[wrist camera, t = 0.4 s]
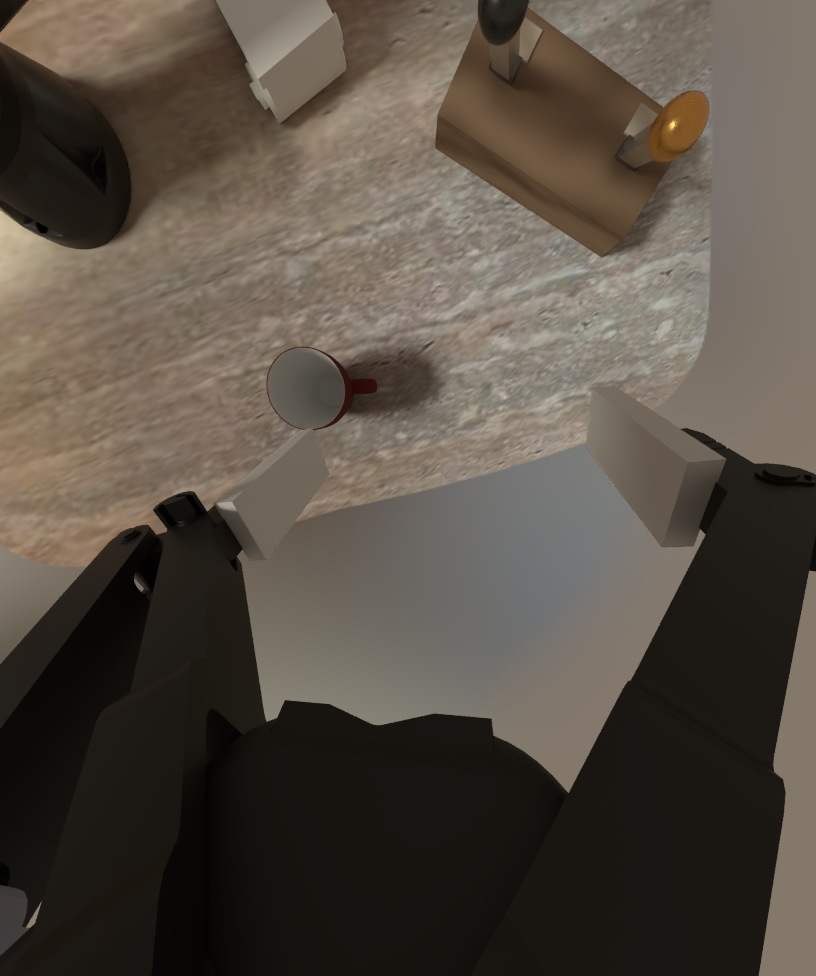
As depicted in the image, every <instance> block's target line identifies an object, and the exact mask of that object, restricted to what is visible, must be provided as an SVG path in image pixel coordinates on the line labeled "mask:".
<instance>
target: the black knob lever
mask: <svg viewBox="0 0 816 976" xmlns="http://www.w3.org/2000/svg"><path fill="white" fill-rule="evenodd" d="M528 4H529V0H478V21H479V26H480V29H481V32H482V35H483V36H484V38H485V39H486V41H487V42H489V48H490V56H491V61H490V65H489V71H491V72H492V73H494V74H495V75H496V76H498V77H499V78H501V79H502V80H504V81H505V82H506V83H508V84H509V85H511V86H512V84H513V82H514V80H515V78H516V76H517V73H518V71H519V68H520V65H521V63H522V59H523V58H522V57H521V56H519V49H520V29H521V25H522V23H523V20H524V18H525V15H526V12H527V8H528Z"/></svg>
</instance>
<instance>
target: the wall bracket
mask: <svg viewBox="0 0 816 976" xmlns="http://www.w3.org/2000/svg"><path fill="white" fill-rule="evenodd" d="M215 1H216V3H217V5H218V6H219V8H220V10H221V12H222V14H223V16H224V18H225V20H226V21H227V23H228V25H229V27H230V29H231V31H232V33H233V35H234V36H235V38H236V40H237V42H238V44H239V46H240V48H241V49H242V51H243V53H244V55H245V57H246V59H247V61H248V62H247V63H245V66H246V68H247V71H248V73H249V75H250V77H251V79H252V81H253V82H252V83H250V84H249V85H250V87H251V89H252V91H253V93H254V95H255V97H256V99H257V101H258V100H259V101H260V103H261V104H262V106H263V107H264V109H265V110H266V109H268V108H269V107H270V109H271V110H272V112H273V114H274V115H275V117H276V119H277V121H278V123H279V124H280V123H281V122H283V121H284V120H285V119H286V118H288V117H289V116H290V115H291V114H293V113H294V112H295V111H296V110H298V109H299V108H300V107H301V106H302V105H304V104H305V103H306V102H307V101H309V100H310V99H311V98H312V97H314V96H315V95H316V94H317V93H319V92H320V91H321V90H322V89H324V88H325V87H326V86H327V85H329V84H330V83H331V82H332V81H333V80H335V79H336V78H337V77H338V76H340V75H341V74H342V73H343V72H345V71H346V61H345V56H344V51H343V46H344V40H343V34H342V30H341V26H340V23H339V20H338V17H337V14H336V12H334V13H332V11H331V9H330V7H329V5H328V3H327V1H326V0H215Z"/></svg>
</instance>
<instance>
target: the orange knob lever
mask: <svg viewBox="0 0 816 976" xmlns="http://www.w3.org/2000/svg"><path fill="white" fill-rule="evenodd" d="M708 115H709V103H708V100H707V97H706V96H705V95H704V94H703V93H702V92H699V91H687V92H684V93H682V94H680V95H678V96H676V97H675V98H674V99H672V100H671V101H670V102H669V103H668V104H667V105H666V106H665V107H664V108H663V109H662V110H661V111H660V113H659V114H658V115H657V117H656V119H655V120H654V122H653V123H651V124H650V125H649V126H647V127H646V128H644V129H643V130H642V131H640V132H639V133H637V134H636V135H634V136H631V135H630V134H629V135H628V137H627V138H626V139H625V141H624V142H623V143H622V145H621V146H620V148H619V150H618V151H617V153H616V155H615V157H614V158H615V159H616V160H618V161H619V162H621V163H622V164H624V165H625V166H626V167H628V168H629V169H631V170H632V171H634V172H636V171H637V170H638V169H639V167H640V166H641V165H644V164H646V163H648V162H650V161H653V160H655V161H657V162H661V163H663V162H669V161H672V160H675V159H677V158H678V157H680V156H682V155H683V154H684V153H686V152H687V151H688V150H689V149H690V148H691V147H692V146H693V145H694V143H695V142H696V141H697V140H698V138H699V137H700V135H701V133H702V132H703V130H704V128H705V125H706V123H707V119H708Z"/></svg>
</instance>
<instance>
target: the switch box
mask: <svg viewBox="0 0 816 976" xmlns="http://www.w3.org/2000/svg"><path fill="white" fill-rule="evenodd" d="M519 56H521V57H522V58H523V59H522V63H521V65H520V68H519V71H518V73H517V76H516V78H515V80H514V82H513V84H512V86H511V85H509V84H508V83H506V82H505V81H504V80H502V79H501V78H499V77H498V76H496V75H495V74H494V73H492V72H491V71H489V65H490V61H491V56H490V48H489V42H487V41H486V39H485V38H484V36H483V35H482V32H481V29H480V26H479V21H478V22H477V24H476V26H475V29H474V31H473V33H472V36H471V38H470V40H469V43H468V45H467V47H466V50H465V52H464V54H463V57H462V59H461V61H460V64H459V66H458V68H457V71H456V73H455V75H454V78H453V80H452V82H451V85H450V87H449V89H448V92H447V94H446V96H445V99H444V101H443V103H442V106H441V108H440V110H439V113H438V117H437V131H436V145H435V148H436V149H438V150H439V151H441V152H442V153H444V154H445V155H447V156H448V157H450V158H451V159H453V160H454V161H456V162H457V163H459V164H460V165H462V166H463V167H465V168H467V169H468V170H470V171H471V172H473V173H474V174H476V175H477V176H479V177H480V178H482V179H483V180H485V181H486V182H488V183H489V184H491V185H492V186H494V187H495V188H497V189H499V190H500V191H502V192H503V193H505V194H506V195H508V196H509V197H511V198H512V199H514V200H515V201H517V202H518V203H520V204H521V205H523V206H524V207H526V208H527V209H529V210H531V211H532V212H534V213H535V214H537V215H538V216H540V217H541V218H543V219H544V220H546V221H547V222H549V223H550V224H552V225H553V226H555V227H556V228H558V229H559V230H561V231H563V232H564V233H566V234H567V235H569V236H570V237H572V238H573V239H575V240H576V241H578V242H579V243H581V244H582V245H584V246H585V247H587V248H588V249H590V250H591V251H593V252H595V253H596V254H598V255H599V256H601V257H602V256H603V255H605V254H606V253H607V252H609V251H610V250H611V249H612V248H614V247H615V246H616V245H617V244H619V243H620V242H621V241H623V240H624V239H625V237H626V235H627V234H628V232H629V230H630V229H631V227H632V226H633V224H634V222H635V221H636V219H637V217H638V216H639V214H640V213H641V211H642V209H643V208H644V206H645V204H646V203H647V201H648V200H649V198H650V196H651V195H652V193H653V191H654V190H655V188H656V187H657V185H658V183H659V182H660V180H661V178H662V177H663V175H664V174H665V172H666V170H667V169H668V167H669V165H670V164H671V162H672V161H673V160H672V161H669V162H663V163H661V162H657V161H655V160H653V161H650V162H648V163H646V164H644V165H641V166H640V167H639V169H638V170H637V171H636V172H634V171H632V170H631V169H629V168H628V167H626V166H625V165H624V164H622V163H621V162H619V161H618V160H616V159H615V158H614V157H615V155H616V153H617V151H618V150H619V148H620V146H621V145H622V143H623V142H624V141H625V139H626V138H627V137H628V135H629V134H630V135H631V136H634V135H636V134H637V133H639V132H640V131H642V130H643V129H644V128H646V127H647V126H649V125H650V124H651V123H653V122H654V120H655V119H656V117H657V115H658V114H659V113H660V111H661V110H662V109H663V107H662V106H661V105H659V104H658V103H657V102H655V101H654V100H652V99H651V98H650V97H648V96H647V95H646V94H644V93H643V92H642V91H640V90H639V89H638V88H636V87H635V86H633V85H632V84H631V83H629V82H628V81H627V80H625V79H624V78H623V77H621V76H620V75H618V74H617V73H616V72H614V71H613V70H612V69H610V68H609V67H608V66H606V65H605V64H604V63H602V62H601V61H599V60H598V59H597V58H595V57H594V56H593V55H591V54H590V53H589V52H587V51H586V50H585V49H583V48H582V47H580V46H579V45H578V44H576V43H575V42H574V41H572V40H571V39H570V38H568V37H567V36H565V35H564V34H563V33H561V32H560V31H559V30H557V29H556V28H555V27H553V26H552V25H551V24H549V23H548V22H546V21H545V20H544V19H542V18H541V17H540V16H538V15H537V14H536V13H534V12H533V11H532V10H530V9H529V8H527V12H526V15H525V18H524V20H523V23H522V25H521V29H520V49H519Z"/></svg>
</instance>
